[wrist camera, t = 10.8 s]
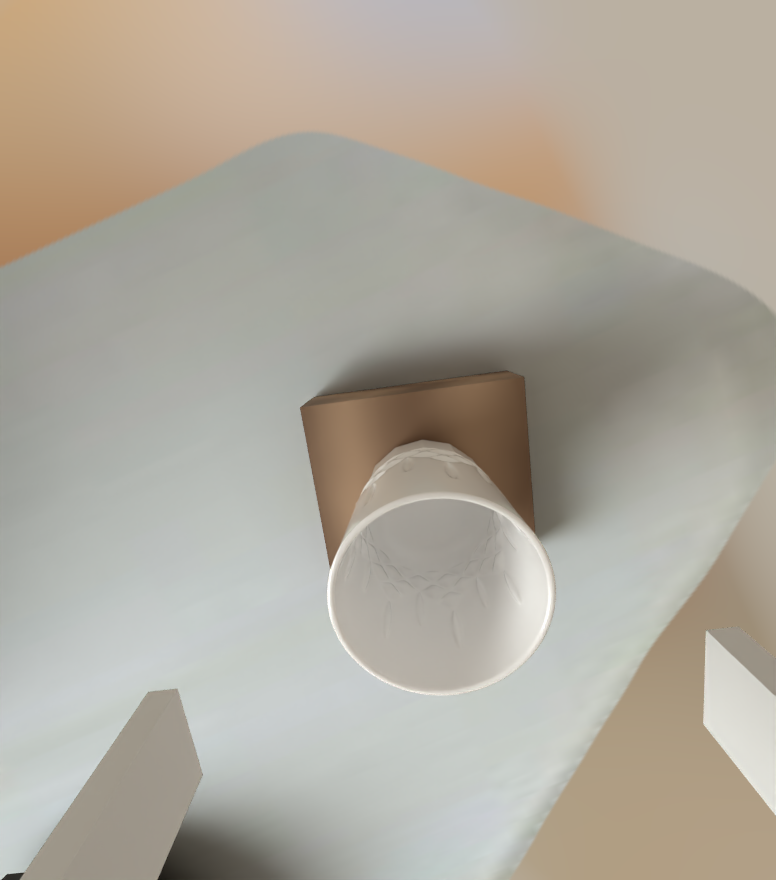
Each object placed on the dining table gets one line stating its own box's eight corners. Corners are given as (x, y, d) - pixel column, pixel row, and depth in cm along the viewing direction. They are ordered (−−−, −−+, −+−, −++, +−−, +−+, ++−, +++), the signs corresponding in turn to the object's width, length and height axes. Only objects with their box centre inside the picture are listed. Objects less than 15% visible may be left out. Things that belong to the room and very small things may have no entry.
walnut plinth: (344, 569, 31) (336, 603, 27) (314, 397, 28) (300, 407, 24) (520, 549, 30) (538, 581, 26) (506, 370, 27) (524, 377, 23)
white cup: (430, 398, 24) (450, 443, 14) (525, 501, 25) (603, 607, 15) (326, 493, 25) (279, 593, 16) (421, 586, 26) (432, 732, 17)
